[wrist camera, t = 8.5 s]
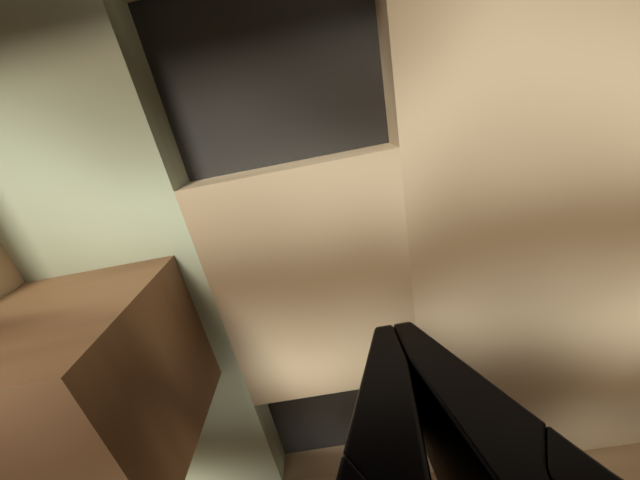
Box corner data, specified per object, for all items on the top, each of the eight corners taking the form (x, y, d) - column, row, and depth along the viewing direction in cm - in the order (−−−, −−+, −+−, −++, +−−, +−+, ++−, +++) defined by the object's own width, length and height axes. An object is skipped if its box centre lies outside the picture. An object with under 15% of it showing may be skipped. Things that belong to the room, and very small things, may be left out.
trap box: (687, 410, 14) (797, 498, 11) (171, 485, 16) (134, 585, 12) (932, -269, 7) (1517, -622, 3) (-125, -13, 8) (-427, -95, 5)
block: (221, 372, 11) (165, 536, 7) (95, 392, 11) (-32, 563, 7) (174, 255, 9) (60, 378, 5) (27, 282, 9) (-198, 421, 5)
